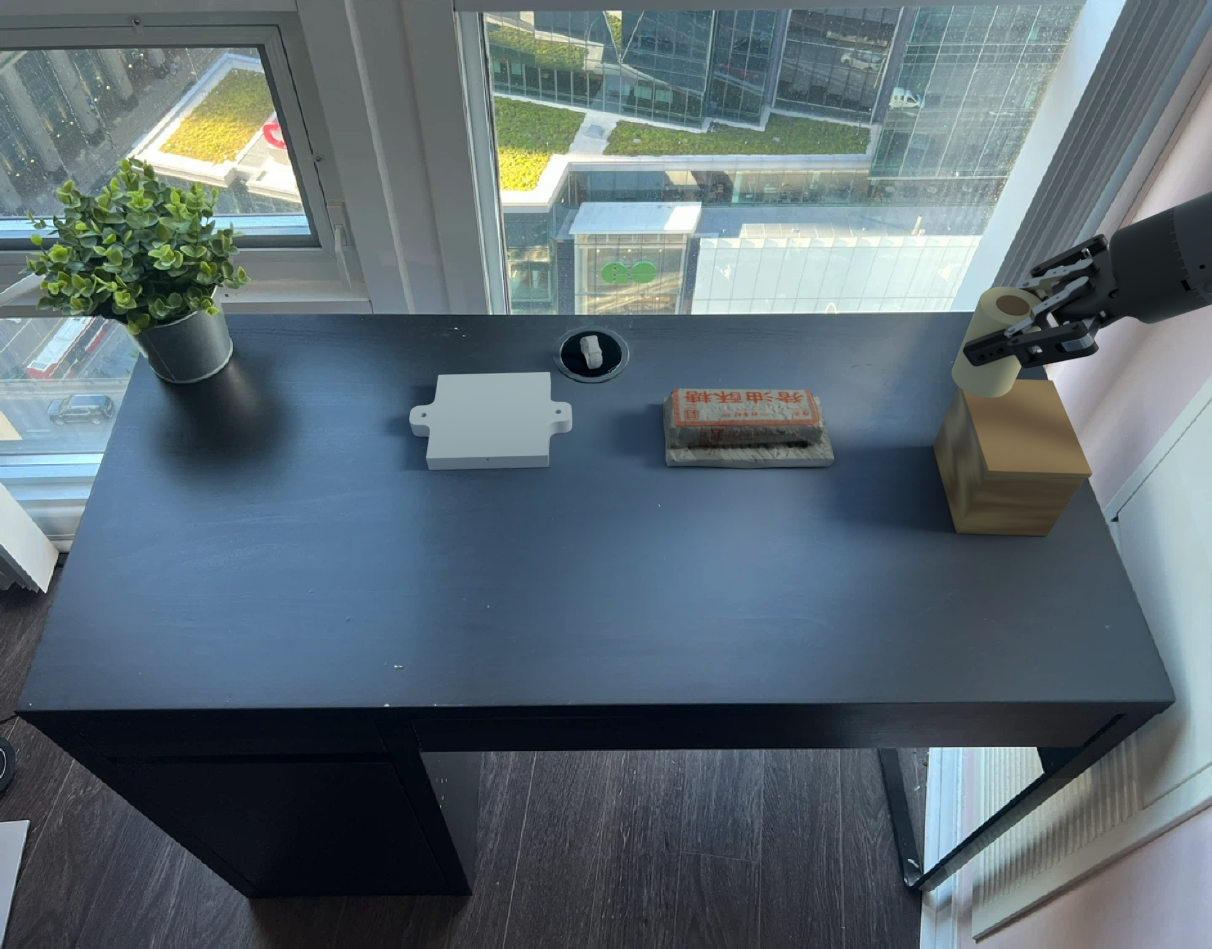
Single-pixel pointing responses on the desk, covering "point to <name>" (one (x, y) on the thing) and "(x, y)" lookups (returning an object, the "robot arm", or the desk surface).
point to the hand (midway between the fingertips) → (975, 335)
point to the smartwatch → (591, 351)
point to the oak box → (1009, 460)
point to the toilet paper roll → (990, 316)
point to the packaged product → (745, 428)
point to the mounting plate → (490, 421)
